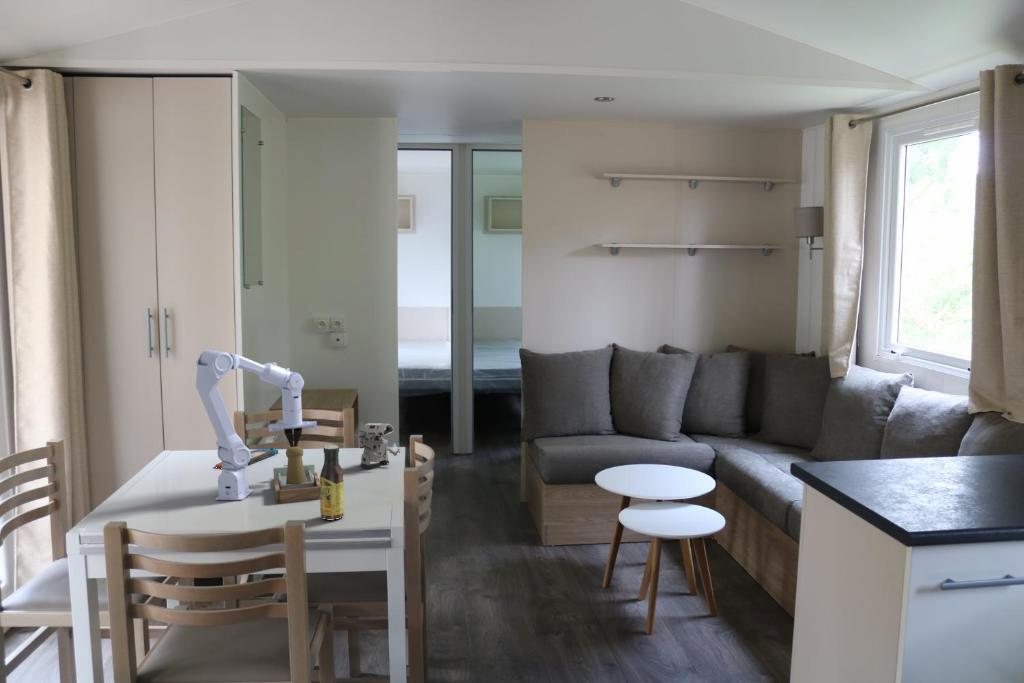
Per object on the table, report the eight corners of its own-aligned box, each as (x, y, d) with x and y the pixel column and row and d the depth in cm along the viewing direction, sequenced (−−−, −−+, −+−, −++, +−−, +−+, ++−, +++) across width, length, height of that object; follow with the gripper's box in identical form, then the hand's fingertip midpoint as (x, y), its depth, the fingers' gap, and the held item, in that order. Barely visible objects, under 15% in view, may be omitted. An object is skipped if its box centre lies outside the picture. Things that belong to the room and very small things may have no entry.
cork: (296, 483, 236) (294, 446, 237) (281, 484, 239) (279, 448, 240) (310, 481, 241) (308, 445, 242) (296, 482, 244) (294, 446, 245)
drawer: (319, 487, 239) (318, 477, 239) (275, 492, 235) (275, 481, 235) (313, 471, 257) (313, 461, 257) (273, 475, 253) (272, 465, 253)
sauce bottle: (316, 517, 214) (313, 446, 212) (337, 512, 218) (335, 442, 216) (327, 523, 209) (325, 450, 207) (348, 518, 213) (346, 446, 211)
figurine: (379, 472, 258) (378, 427, 257) (357, 467, 266) (356, 423, 264) (400, 467, 265) (399, 423, 264) (378, 461, 273) (377, 418, 271)
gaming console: (257, 447, 289) (280, 447, 286) (257, 454, 289) (280, 454, 286) (212, 464, 266) (236, 464, 263) (213, 471, 267) (237, 471, 263)
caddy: (322, 498, 231) (321, 487, 231) (276, 503, 227) (276, 491, 227) (317, 483, 247) (316, 472, 246) (274, 487, 243) (274, 476, 242)
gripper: (315, 405, 253) (316, 447, 254) (267, 408, 249) (269, 451, 250) (316, 409, 246) (318, 452, 248) (267, 413, 242) (269, 456, 243)
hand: (293, 452), depth 248 cm, fingers closed
